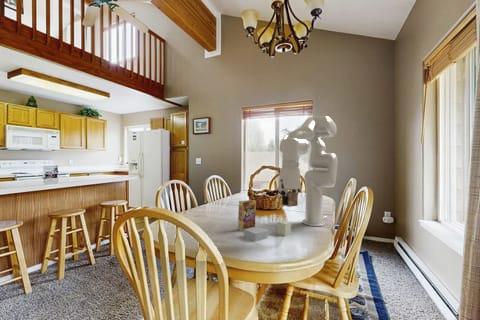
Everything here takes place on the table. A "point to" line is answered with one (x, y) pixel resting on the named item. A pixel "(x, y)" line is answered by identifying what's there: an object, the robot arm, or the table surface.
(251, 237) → the pedestal block
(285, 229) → the sage block
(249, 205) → the candy box
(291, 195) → the walnut block
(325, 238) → the table surface
